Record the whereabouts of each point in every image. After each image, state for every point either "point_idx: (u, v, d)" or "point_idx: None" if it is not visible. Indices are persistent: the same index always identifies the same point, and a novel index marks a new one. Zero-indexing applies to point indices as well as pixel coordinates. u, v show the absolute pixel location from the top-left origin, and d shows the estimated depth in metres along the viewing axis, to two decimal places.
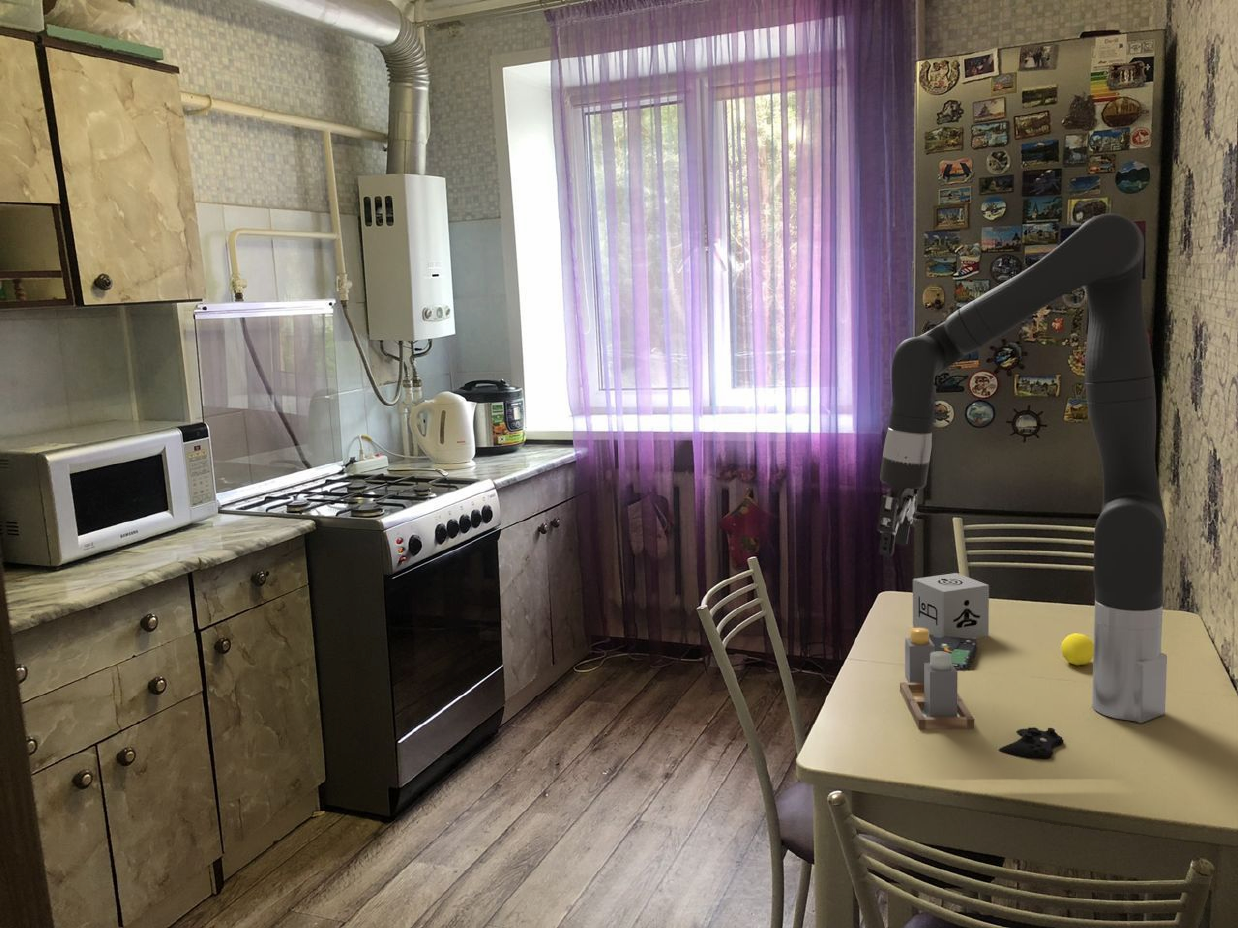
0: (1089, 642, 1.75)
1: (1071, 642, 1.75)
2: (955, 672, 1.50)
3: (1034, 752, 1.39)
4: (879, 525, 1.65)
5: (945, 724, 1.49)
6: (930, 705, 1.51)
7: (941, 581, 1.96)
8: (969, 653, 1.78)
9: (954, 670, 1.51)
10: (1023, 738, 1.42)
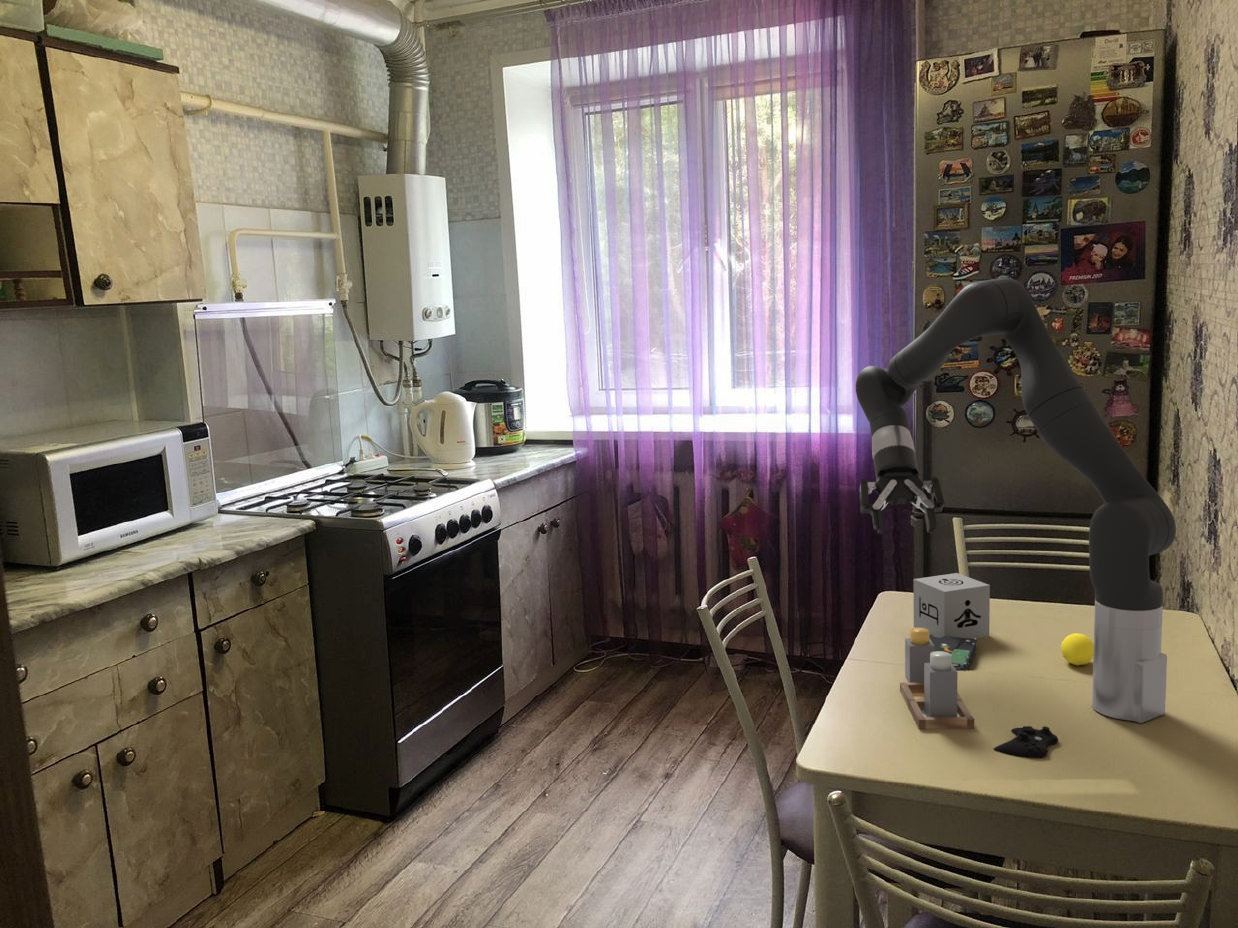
0: (1089, 642, 1.75)
1: (1071, 642, 1.75)
2: (955, 672, 1.50)
3: (1029, 751, 1.39)
4: (860, 507, 1.81)
5: (945, 724, 1.49)
6: (930, 705, 1.51)
7: (942, 581, 1.96)
8: (969, 653, 1.78)
9: (954, 670, 1.51)
10: (1018, 737, 1.42)
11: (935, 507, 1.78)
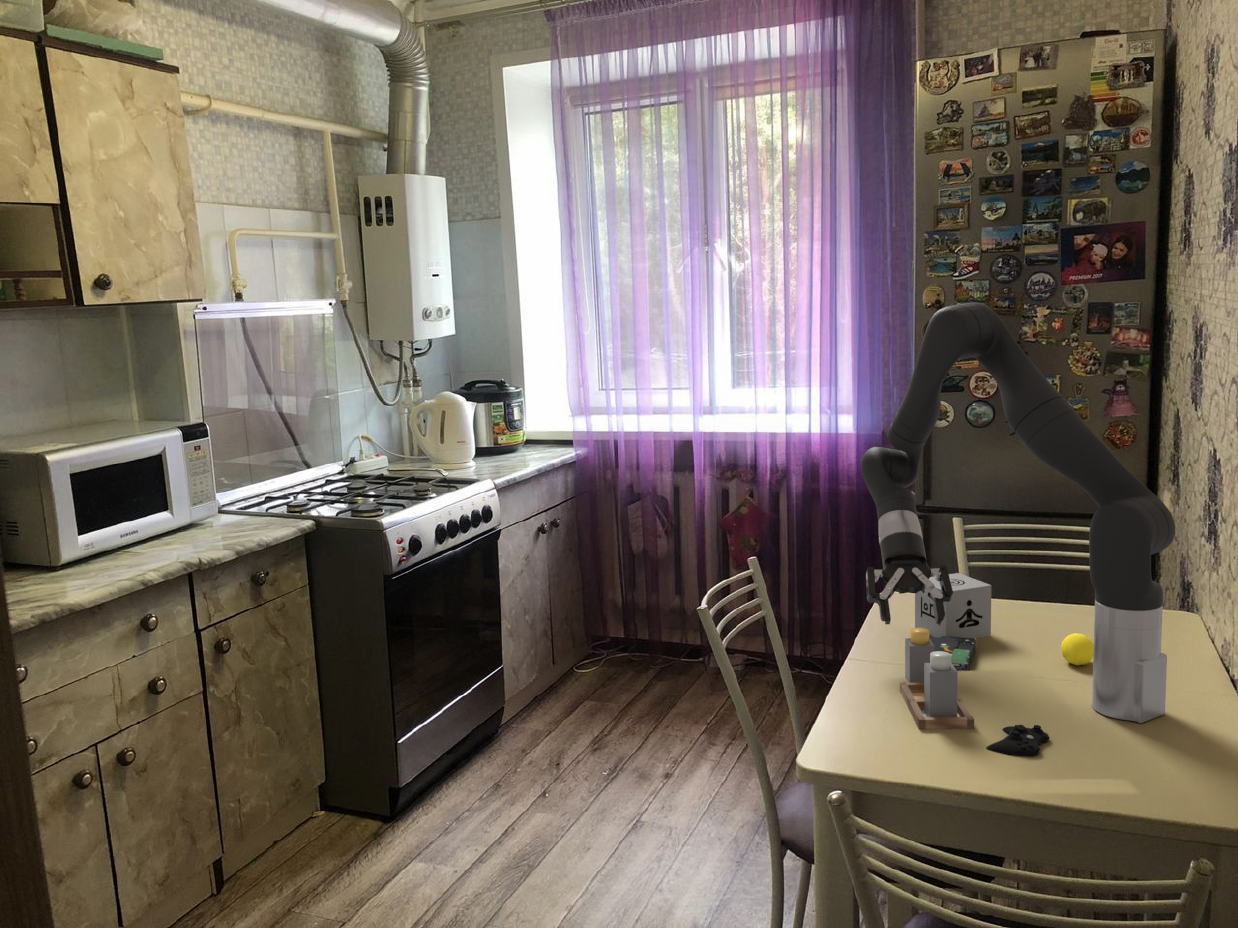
0: (1089, 642, 1.75)
1: (1071, 642, 1.75)
2: (955, 672, 1.50)
3: (1022, 749, 1.40)
4: (867, 596, 1.77)
5: (945, 724, 1.49)
6: (930, 705, 1.51)
7: None
8: (969, 653, 1.78)
9: (954, 670, 1.51)
10: (1010, 736, 1.43)
11: (944, 597, 1.74)
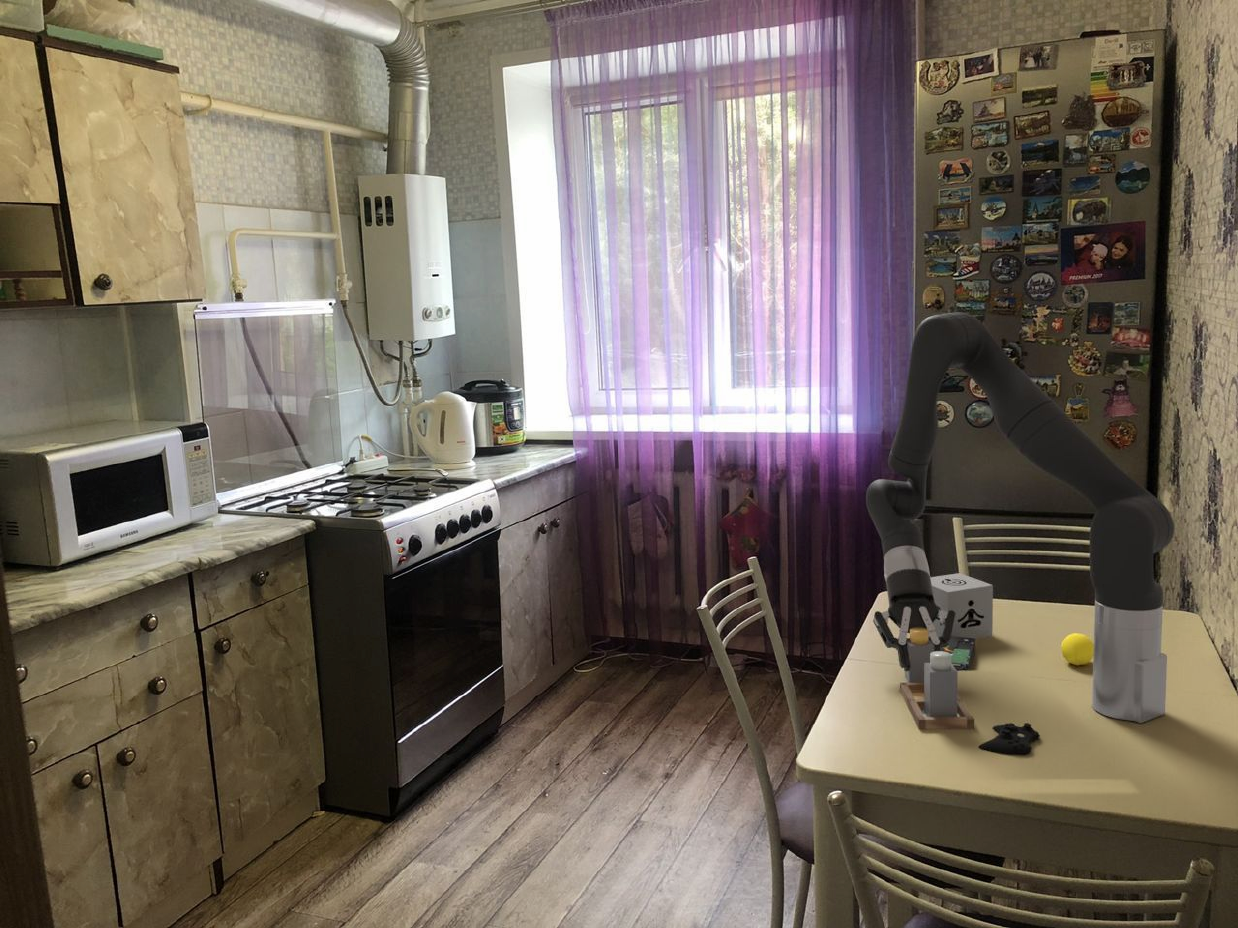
0: (1089, 642, 1.75)
1: (1071, 642, 1.75)
2: (955, 672, 1.50)
3: (1013, 748, 1.40)
4: (884, 642, 1.71)
5: (945, 724, 1.49)
6: (930, 705, 1.51)
7: (945, 581, 1.95)
8: (970, 652, 1.79)
9: (954, 670, 1.51)
10: (1001, 734, 1.43)
11: (940, 643, 1.68)
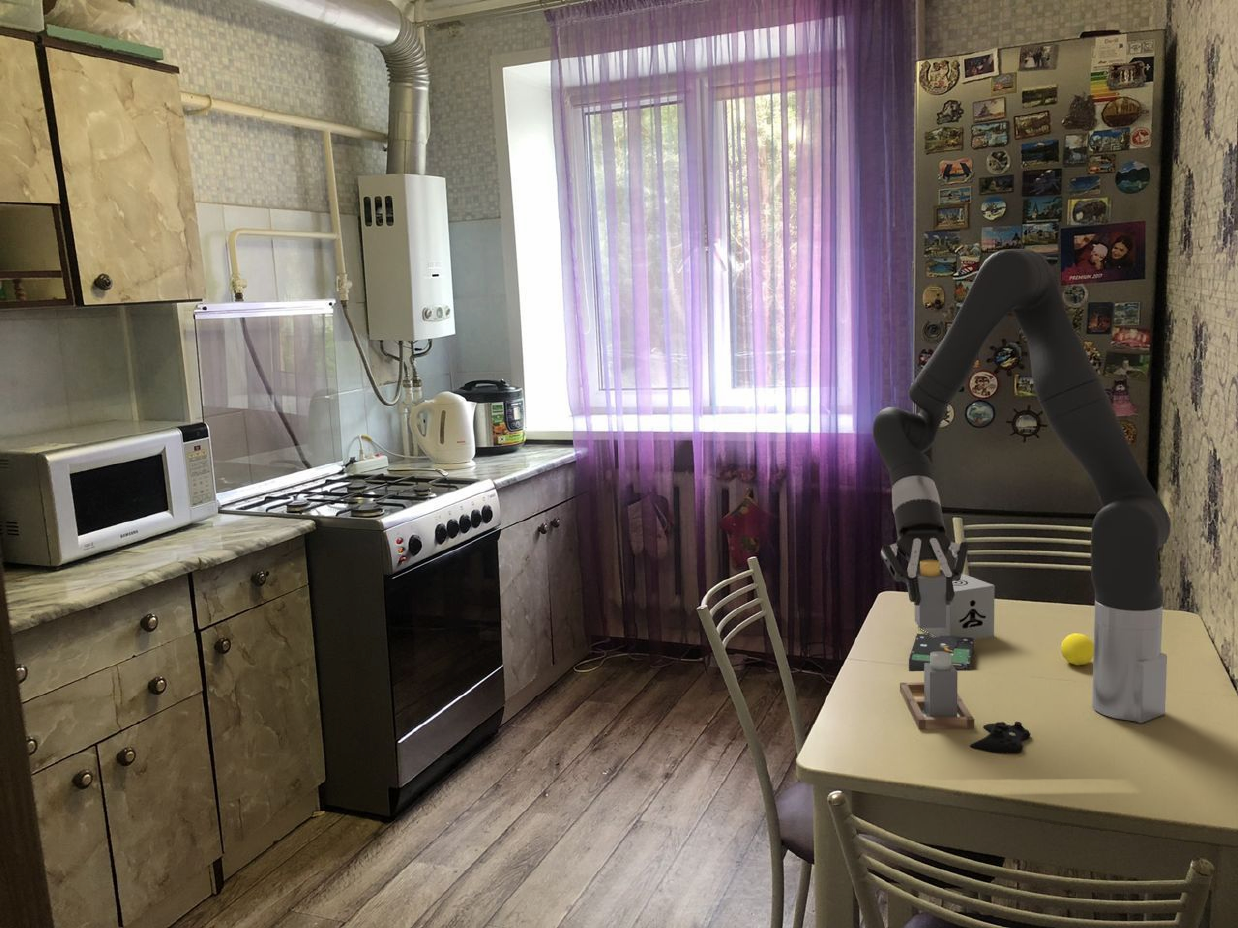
0: (1089, 642, 1.75)
1: (1071, 642, 1.75)
2: (955, 672, 1.50)
3: (1005, 747, 1.41)
4: (893, 576, 1.60)
5: (945, 724, 1.49)
6: (930, 705, 1.51)
7: None
8: (970, 652, 1.79)
9: (954, 670, 1.51)
10: (993, 733, 1.44)
11: (953, 575, 1.58)
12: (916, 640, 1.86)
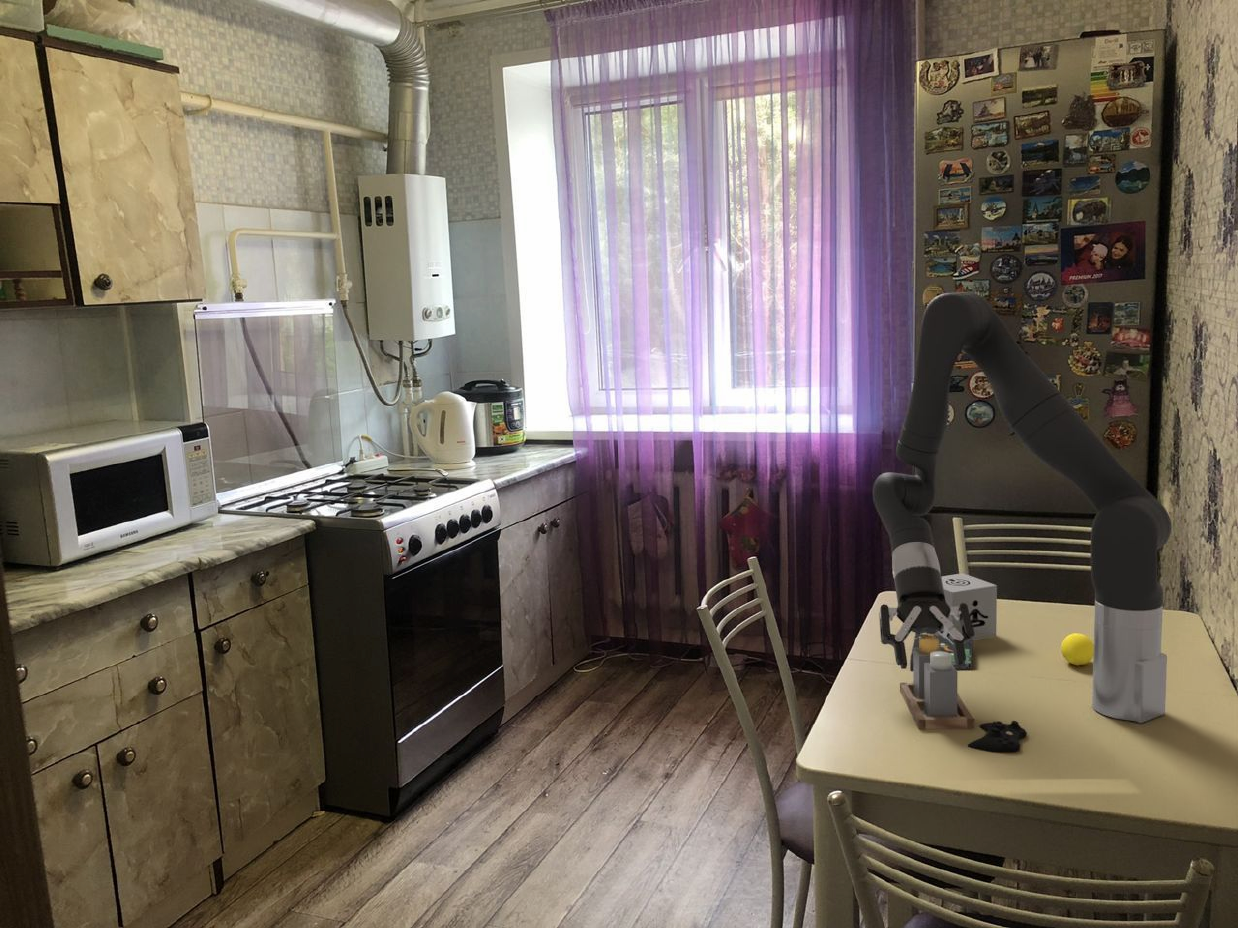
0: (1089, 642, 1.75)
1: (1071, 642, 1.75)
2: (955, 672, 1.50)
3: (1003, 746, 1.41)
4: (881, 637, 1.63)
5: (945, 724, 1.49)
6: (930, 705, 1.51)
7: (949, 581, 1.95)
8: (970, 652, 1.79)
9: (954, 670, 1.51)
10: (990, 733, 1.44)
11: (964, 639, 1.60)
12: (915, 640, 1.86)
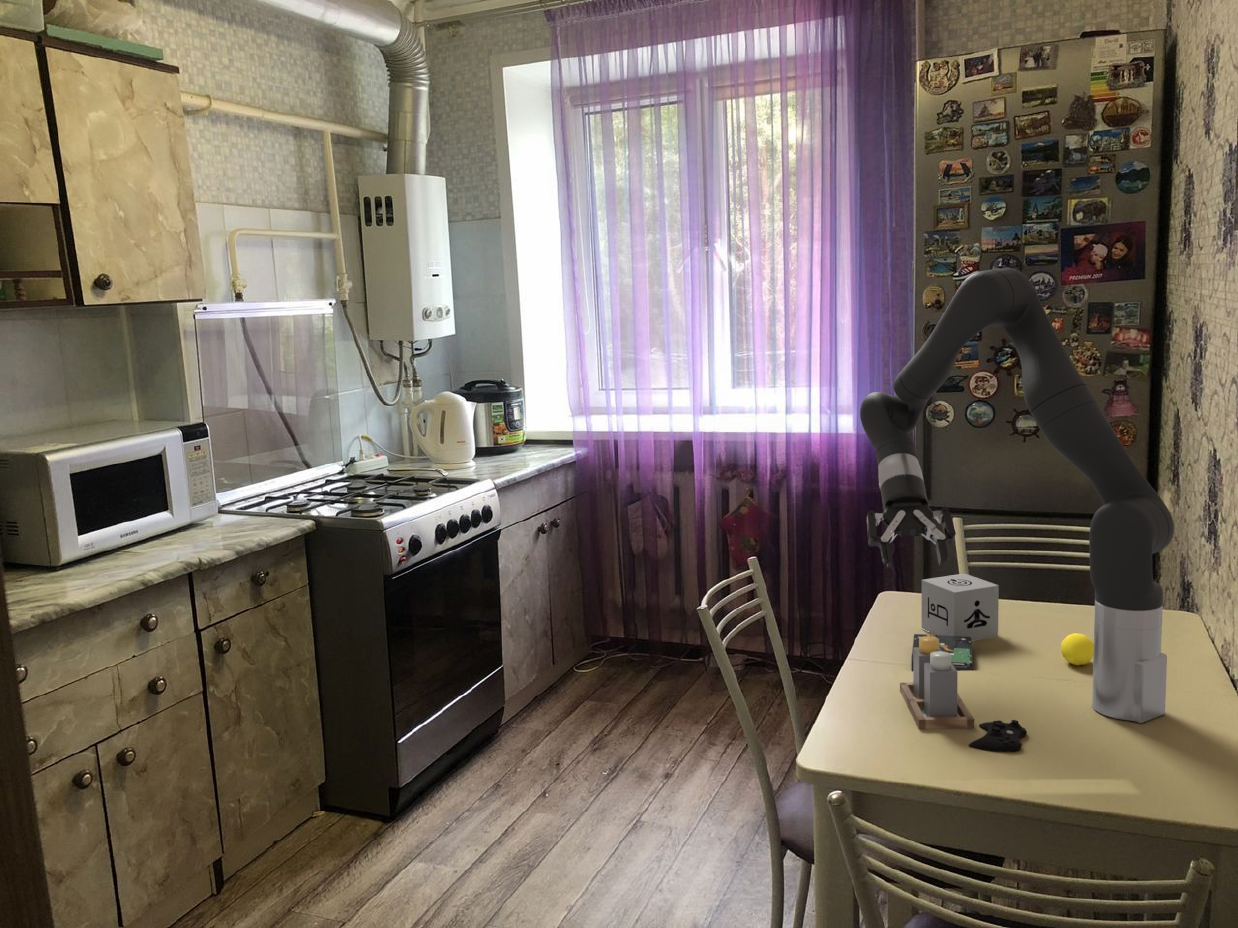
0: (1089, 642, 1.75)
1: (1071, 642, 1.75)
2: (955, 672, 1.50)
3: (1005, 745, 1.41)
4: (868, 540, 1.74)
5: (945, 724, 1.49)
6: (930, 705, 1.51)
7: (950, 582, 1.95)
8: (970, 651, 1.79)
9: (954, 670, 1.51)
10: (991, 732, 1.44)
11: (946, 538, 1.70)
12: (915, 640, 1.86)
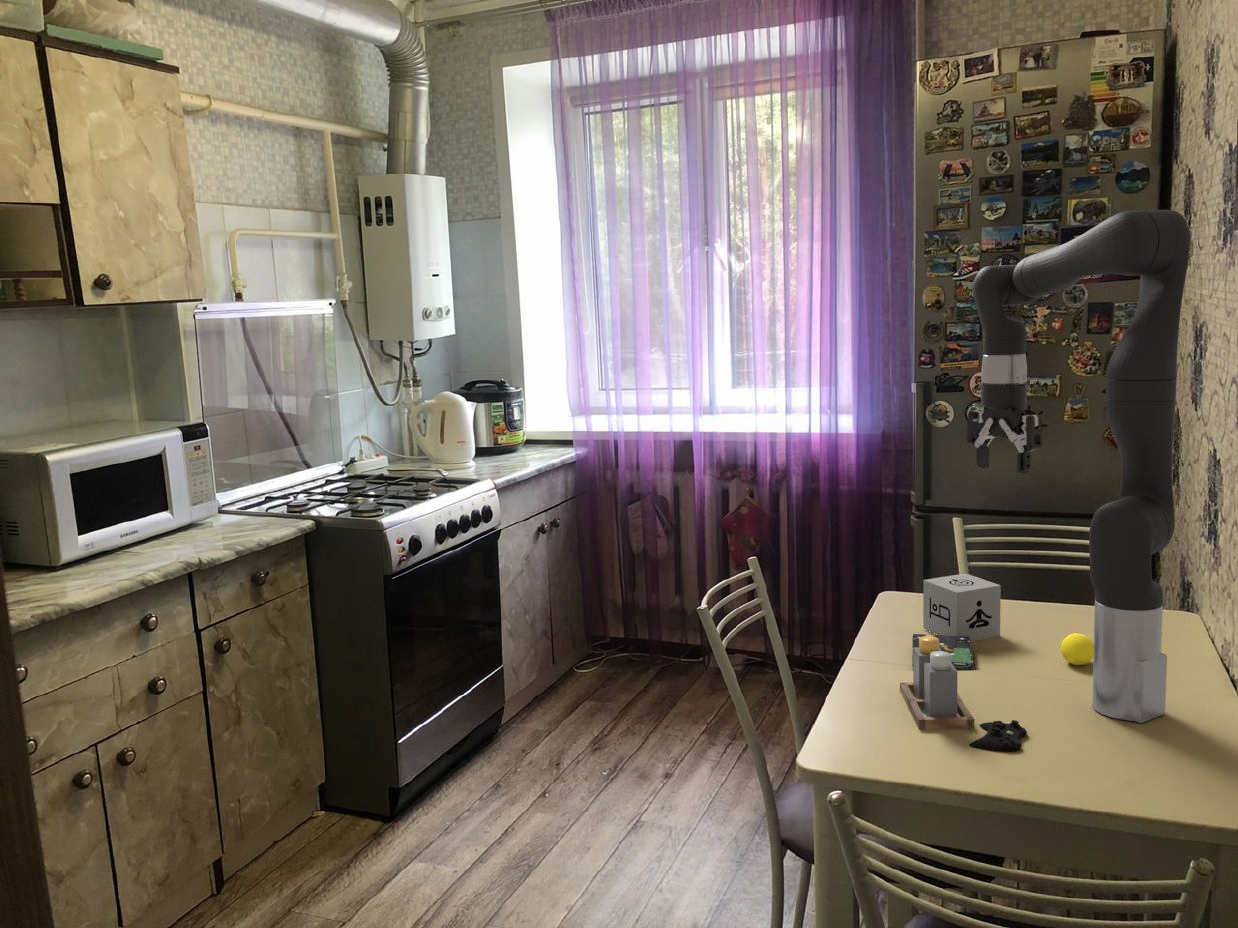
0: (1089, 642, 1.75)
1: (1071, 642, 1.75)
2: (955, 672, 1.50)
3: (1004, 745, 1.41)
4: (975, 435, 1.87)
5: (945, 724, 1.49)
6: (930, 705, 1.51)
7: (952, 582, 1.95)
8: (970, 651, 1.79)
9: (954, 670, 1.51)
10: (991, 732, 1.44)
11: (1027, 450, 1.75)
12: (914, 640, 1.86)
